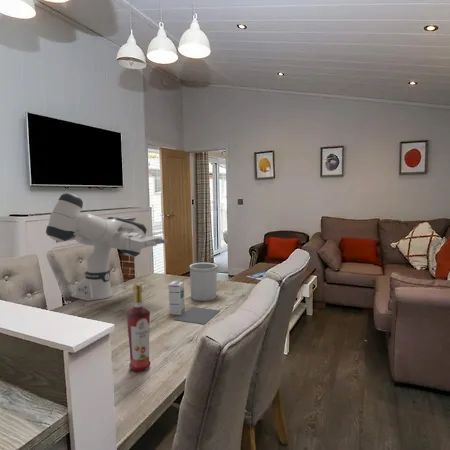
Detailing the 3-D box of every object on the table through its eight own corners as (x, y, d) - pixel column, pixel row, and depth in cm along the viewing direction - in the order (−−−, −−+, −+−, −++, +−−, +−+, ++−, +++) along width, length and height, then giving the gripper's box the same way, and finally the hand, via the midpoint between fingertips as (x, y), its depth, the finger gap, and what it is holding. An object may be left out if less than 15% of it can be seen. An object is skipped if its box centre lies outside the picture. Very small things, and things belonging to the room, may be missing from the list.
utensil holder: (221, 299, 187) (221, 266, 185) (194, 302, 181) (193, 269, 179) (212, 291, 200) (211, 261, 198) (186, 294, 195) (186, 263, 193)
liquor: (133, 376, 111) (130, 289, 108) (125, 366, 117) (122, 284, 114) (155, 369, 115) (152, 285, 112) (146, 360, 121) (143, 281, 118)
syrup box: (181, 315, 164) (180, 284, 162) (169, 314, 165) (168, 284, 164) (184, 310, 170) (184, 281, 168) (173, 310, 171) (172, 280, 169)
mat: (174, 320, 158) (174, 319, 158) (192, 307, 174) (192, 306, 174) (204, 324, 152) (204, 323, 152) (220, 310, 169) (220, 310, 169)
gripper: (148, 244, 187) (171, 246, 182) (124, 250, 168) (149, 252, 163) (148, 233, 186) (171, 234, 181) (124, 237, 167) (149, 238, 162)
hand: (160, 242), depth 172 cm, fingers open, 8 cm apart
